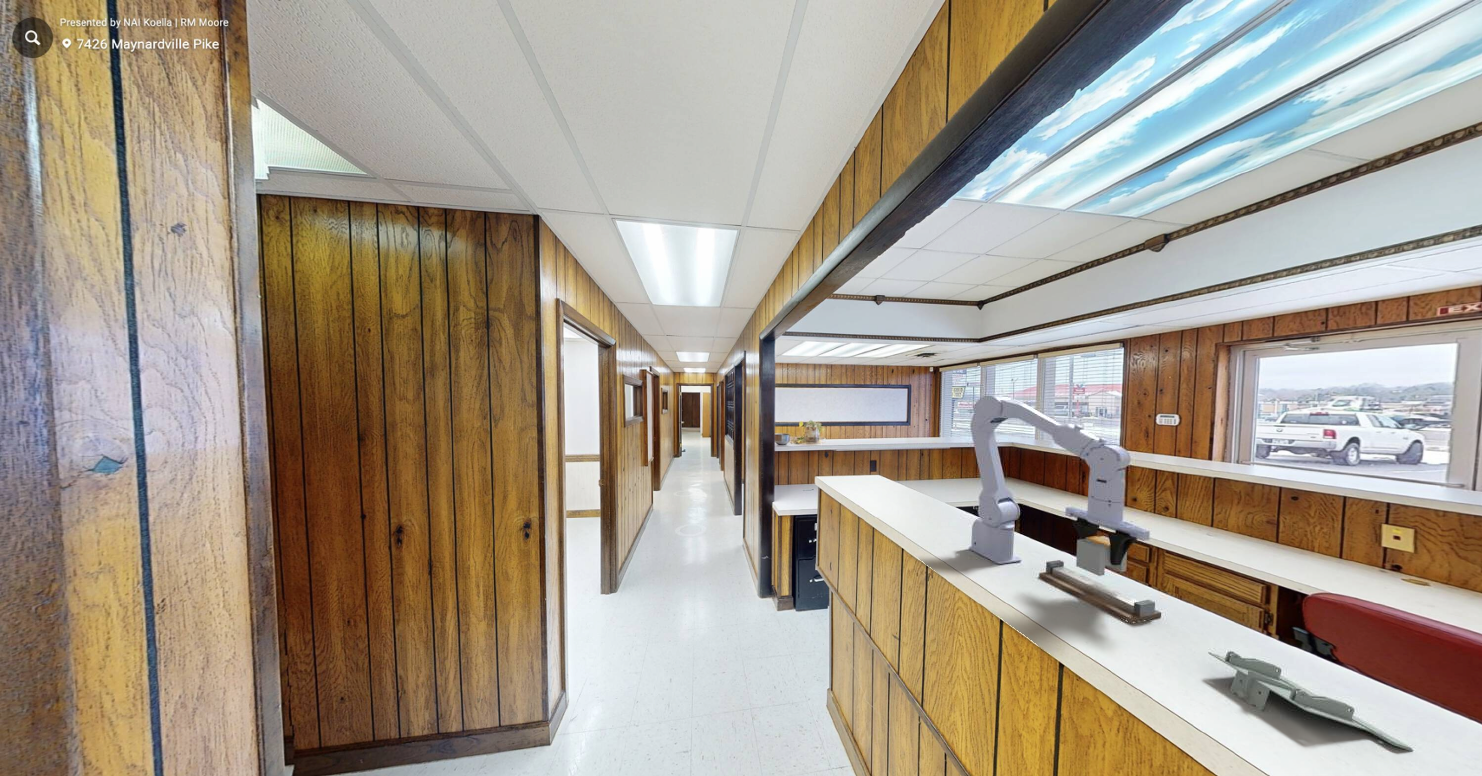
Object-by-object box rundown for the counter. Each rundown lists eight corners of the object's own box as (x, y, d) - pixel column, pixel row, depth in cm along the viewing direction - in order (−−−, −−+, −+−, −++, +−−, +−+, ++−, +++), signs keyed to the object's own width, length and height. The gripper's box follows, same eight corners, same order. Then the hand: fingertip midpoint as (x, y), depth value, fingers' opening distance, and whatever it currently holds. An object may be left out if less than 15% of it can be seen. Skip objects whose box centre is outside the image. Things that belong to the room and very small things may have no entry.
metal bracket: (1327, 708, 50) (1192, 631, 65) (1311, 748, 50) (1180, 663, 65) (1427, 740, 50) (1269, 657, 65) (1411, 780, 50) (1258, 688, 65)
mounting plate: (1039, 577, 93) (1039, 573, 93) (1065, 573, 95) (1066, 569, 95) (1130, 623, 76) (1131, 618, 76) (1161, 617, 78) (1161, 612, 78)
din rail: (1045, 571, 94) (1046, 561, 94) (1059, 569, 95) (1059, 560, 95) (1139, 617, 76) (1140, 605, 76) (1154, 614, 77) (1155, 602, 77)
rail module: (1076, 565, 85) (1077, 538, 85) (1102, 561, 88) (1103, 534, 87) (1099, 576, 81) (1100, 547, 81) (1126, 571, 83) (1127, 543, 83)
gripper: (1057, 489, 90) (1054, 546, 90) (1134, 511, 76) (1130, 577, 76) (1078, 488, 92) (1075, 543, 92) (1158, 509, 78) (1154, 574, 78)
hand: (1102, 559), depth 84 cm, fingers closed on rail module, 4 cm apart
